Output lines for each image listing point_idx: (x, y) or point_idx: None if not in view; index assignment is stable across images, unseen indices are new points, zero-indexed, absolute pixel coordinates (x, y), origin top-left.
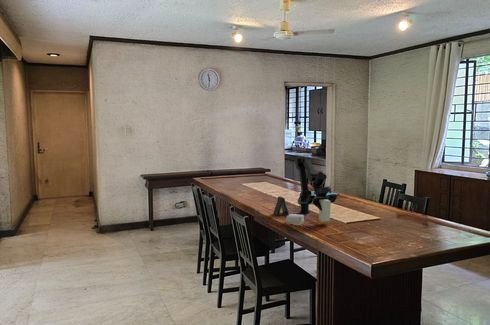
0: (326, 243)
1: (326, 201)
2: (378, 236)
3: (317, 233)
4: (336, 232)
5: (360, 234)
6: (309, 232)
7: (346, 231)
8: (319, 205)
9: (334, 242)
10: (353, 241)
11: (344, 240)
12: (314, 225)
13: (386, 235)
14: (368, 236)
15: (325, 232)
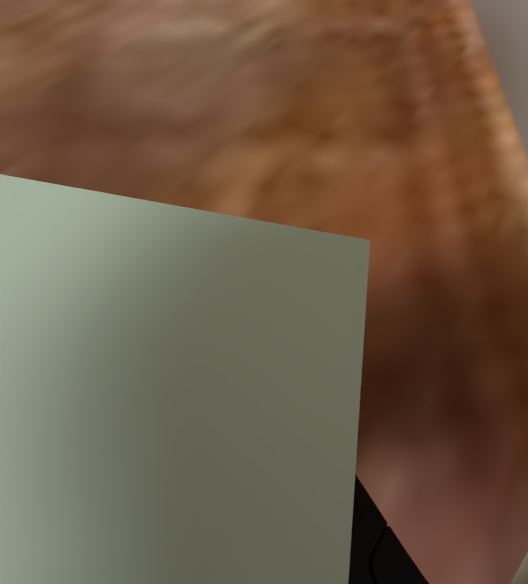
0: (483, 39)
1: (136, 210)
2: (82, 11)
3: (456, 200)
4: (285, 163)
5: (151, 71)
6: (517, 247)
7: (186, 153)
8: (363, 499)
9: (427, 34)
10: (306, 10)
11: (346, 36)
12: (356, 457)
13: (15, 6)
14: (141, 31)
15: (375, 196)
